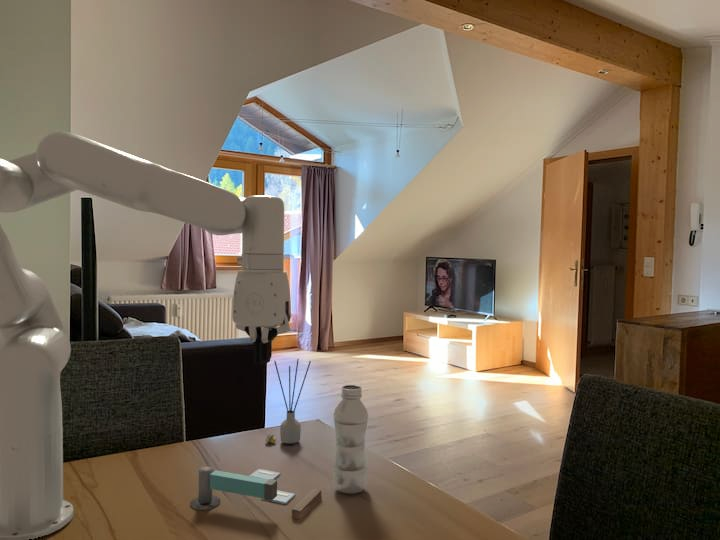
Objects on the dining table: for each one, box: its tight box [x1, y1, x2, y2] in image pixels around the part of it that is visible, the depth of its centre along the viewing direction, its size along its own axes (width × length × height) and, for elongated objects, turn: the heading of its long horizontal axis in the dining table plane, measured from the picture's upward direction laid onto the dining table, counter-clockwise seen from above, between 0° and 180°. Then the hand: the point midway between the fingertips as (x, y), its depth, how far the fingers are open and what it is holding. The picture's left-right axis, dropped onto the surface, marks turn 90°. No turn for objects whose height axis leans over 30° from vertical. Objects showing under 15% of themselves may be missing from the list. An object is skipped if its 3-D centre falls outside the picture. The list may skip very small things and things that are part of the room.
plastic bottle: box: [332, 384, 369, 495], centre depth 104 cm, size 6×7×20 cm
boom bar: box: [197, 466, 278, 504], centre depth 96 cm, size 15×2×6 cm, turn 72°
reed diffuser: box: [265, 358, 311, 444], centre depth 127 cm, size 10×7×20 cm
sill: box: [291, 488, 322, 520], centre depth 98 cm, size 2×8×2 cm, turn 159°
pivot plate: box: [190, 495, 221, 511], centre depth 98 cm, size 5×5×1 cm
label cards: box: [249, 468, 296, 505], centre depth 106 cm, size 12×11×1 cm
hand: (262, 362), depth 101 cm, fingers closed
